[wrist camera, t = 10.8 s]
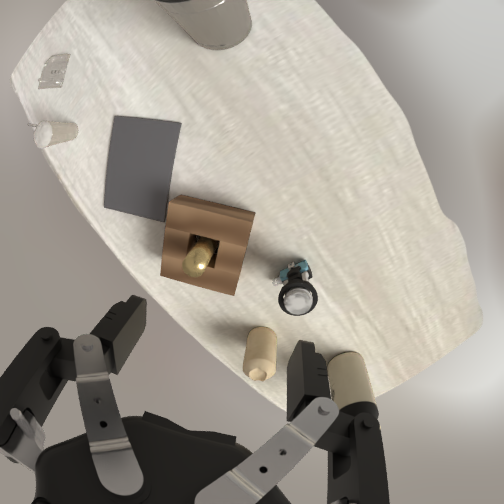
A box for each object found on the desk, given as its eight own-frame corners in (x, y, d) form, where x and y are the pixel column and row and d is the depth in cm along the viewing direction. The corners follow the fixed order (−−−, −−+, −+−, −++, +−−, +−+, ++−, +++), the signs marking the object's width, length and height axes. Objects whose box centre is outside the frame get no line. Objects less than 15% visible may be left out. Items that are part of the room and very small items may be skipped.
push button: (280, 291, 47) (280, 328, 38) (265, 266, 45) (262, 300, 36) (316, 275, 45) (324, 310, 36) (302, 249, 44) (308, 280, 34)
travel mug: (368, 350, 51) (389, 420, 34) (357, 376, 54) (372, 442, 37) (331, 350, 51) (344, 425, 35) (323, 376, 54) (331, 446, 38)
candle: (267, 322, 50) (264, 360, 40) (281, 341, 51) (281, 380, 42) (242, 332, 51) (235, 370, 42) (257, 351, 53) (252, 389, 44)
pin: (203, 228, 44) (183, 253, 34) (221, 233, 44) (206, 259, 35) (200, 245, 45) (180, 274, 36) (217, 250, 45) (202, 279, 36)
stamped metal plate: (72, 54, 33) (68, 53, 31) (63, 87, 35) (58, 87, 34) (47, 58, 32) (43, 57, 31) (39, 89, 35) (35, 89, 34)
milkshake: (71, 111, 37) (34, 112, 28) (85, 130, 38) (46, 133, 29) (59, 130, 38) (21, 134, 29) (71, 148, 40) (34, 155, 30)
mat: (116, 116, 37) (114, 116, 37) (181, 123, 37) (180, 123, 37) (105, 206, 44) (103, 207, 43) (164, 221, 44) (163, 222, 43)
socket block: (180, 194, 42) (168, 202, 37) (255, 212, 42) (252, 222, 37) (170, 262, 47) (160, 275, 42) (238, 280, 47) (234, 295, 42)
